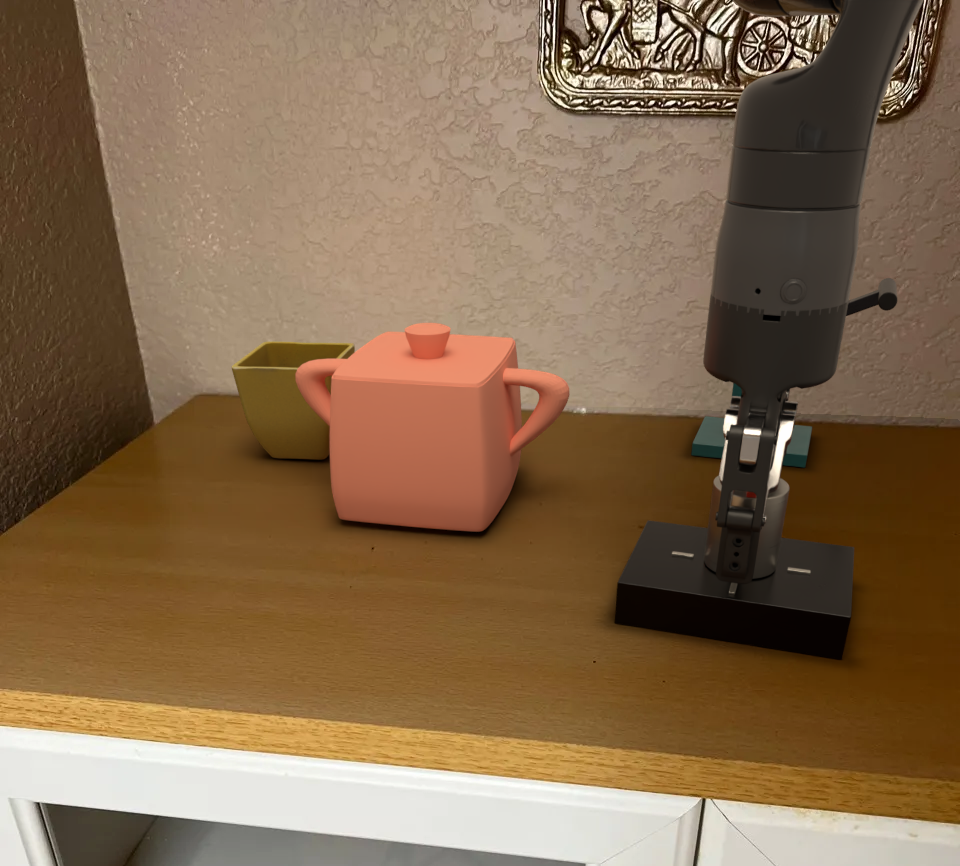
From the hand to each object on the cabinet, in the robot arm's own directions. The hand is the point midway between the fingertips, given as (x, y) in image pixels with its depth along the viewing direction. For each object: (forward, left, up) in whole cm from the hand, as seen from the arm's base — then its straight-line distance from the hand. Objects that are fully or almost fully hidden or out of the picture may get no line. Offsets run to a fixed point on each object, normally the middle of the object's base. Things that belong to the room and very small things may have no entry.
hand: (741, 552), depth 63 cm
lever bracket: (+2, -31, -4) cm, 31 cm away
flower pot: (+41, -17, -4) cm, 45 cm away
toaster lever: (-3, -31, +7) cm, 32 cm away
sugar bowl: (+26, -13, -4) cm, 29 cm away
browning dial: (0, 0, -1) cm, 1 cm away
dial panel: (0, 0, -4) cm, 4 cm away
